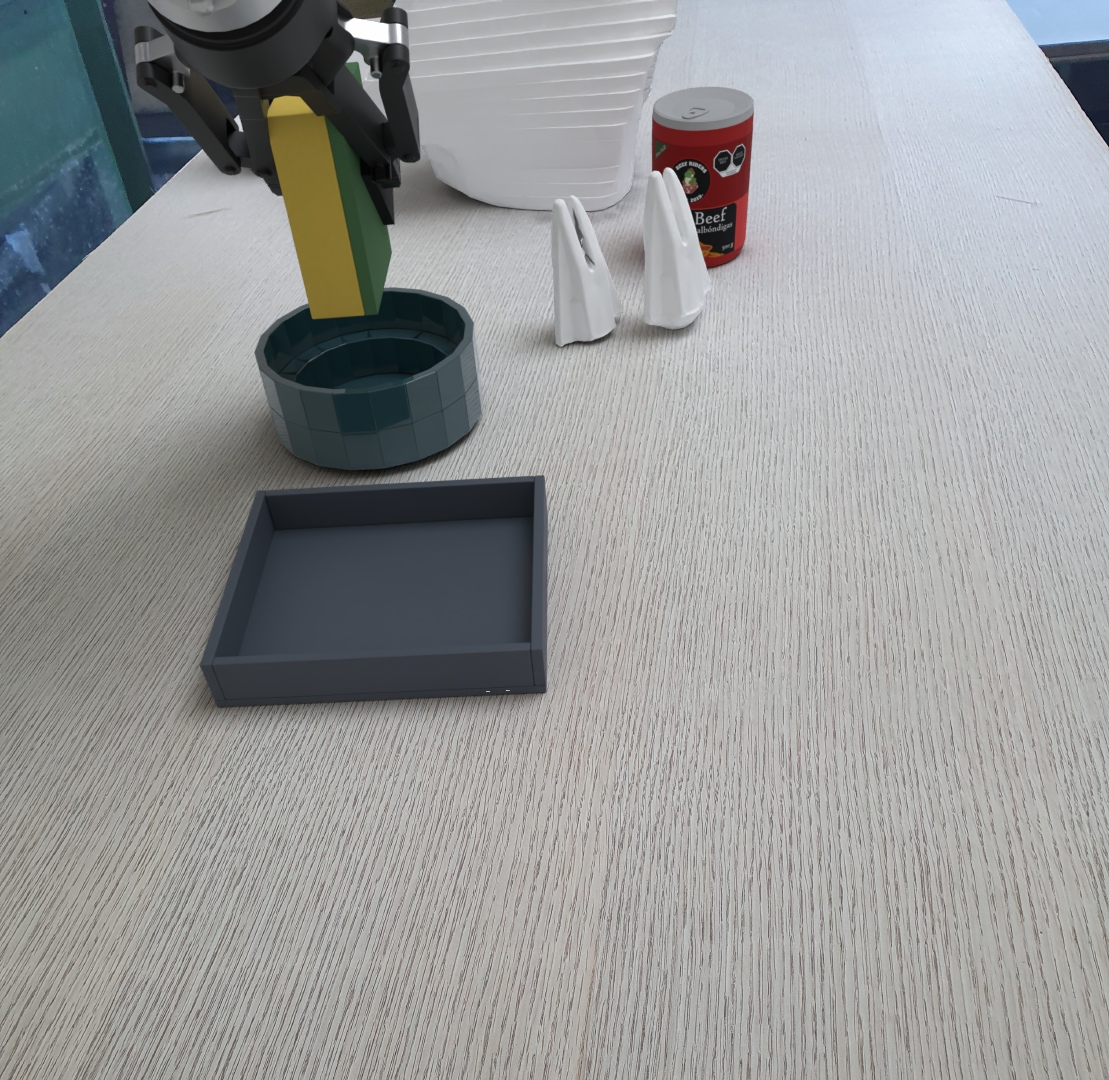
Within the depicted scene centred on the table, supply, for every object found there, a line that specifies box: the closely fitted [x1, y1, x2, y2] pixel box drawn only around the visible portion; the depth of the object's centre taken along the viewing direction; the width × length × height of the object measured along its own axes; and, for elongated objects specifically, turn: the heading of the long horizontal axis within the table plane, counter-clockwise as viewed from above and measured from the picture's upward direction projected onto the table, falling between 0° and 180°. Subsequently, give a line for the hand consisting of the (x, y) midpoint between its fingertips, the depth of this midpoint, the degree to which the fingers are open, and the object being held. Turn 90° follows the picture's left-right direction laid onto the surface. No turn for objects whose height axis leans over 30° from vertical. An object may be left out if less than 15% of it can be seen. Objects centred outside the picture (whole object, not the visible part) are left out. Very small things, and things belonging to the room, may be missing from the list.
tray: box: [199, 474, 549, 708], centre depth 60 cm, size 17×15×3 cm
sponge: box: [267, 61, 393, 319], centre depth 64 cm, size 4×9×11 cm, turn 1°
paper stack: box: [362, 0, 678, 212], centre depth 94 cm, size 21×27×26 cm
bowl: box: [254, 286, 484, 471], centre depth 72 cm, size 14×14×6 cm
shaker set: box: [550, 168, 713, 348], centre depth 77 cm, size 12×4×11 cm, turn 93°
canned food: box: [651, 86, 755, 269], centre depth 86 cm, size 8×8×11 cm
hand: (350, 204), depth 68 cm, fingers closed on sponge, 4 cm apart
